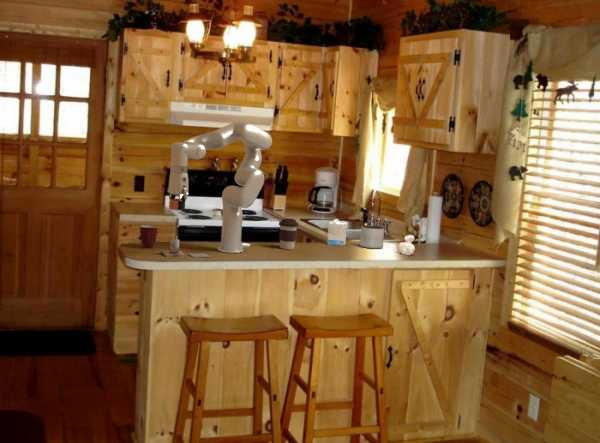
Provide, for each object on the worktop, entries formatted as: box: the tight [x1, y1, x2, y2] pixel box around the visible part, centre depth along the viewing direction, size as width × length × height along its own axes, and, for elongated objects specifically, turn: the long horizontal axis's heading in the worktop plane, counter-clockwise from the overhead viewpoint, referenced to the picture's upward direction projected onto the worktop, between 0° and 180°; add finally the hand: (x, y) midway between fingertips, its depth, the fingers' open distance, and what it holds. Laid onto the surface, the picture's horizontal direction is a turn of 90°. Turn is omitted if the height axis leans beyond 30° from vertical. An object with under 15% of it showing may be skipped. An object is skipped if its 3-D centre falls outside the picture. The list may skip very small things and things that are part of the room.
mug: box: [139, 224, 158, 249], centre depth 389 cm, size 11×8×10 cm
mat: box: [187, 253, 211, 259], centre depth 378 cm, size 8×8×1 cm
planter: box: [359, 224, 385, 250], centre depth 441 cm, size 12×13×11 cm
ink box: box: [326, 218, 348, 246], centre depth 442 cm, size 9×8×13 cm
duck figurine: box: [397, 234, 416, 256], centre depth 426 cm, size 12×8×11 cm
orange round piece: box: [168, 198, 179, 211], centre depth 373 cm, size 7×7×5 cm
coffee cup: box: [278, 218, 299, 250], centre depth 416 cm, size 10×10×15 cm
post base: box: [160, 238, 189, 258], centre depth 375 cm, size 10×10×7 cm
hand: (176, 208), depth 373 cm, fingers closed on orange round piece, 6 cm apart
